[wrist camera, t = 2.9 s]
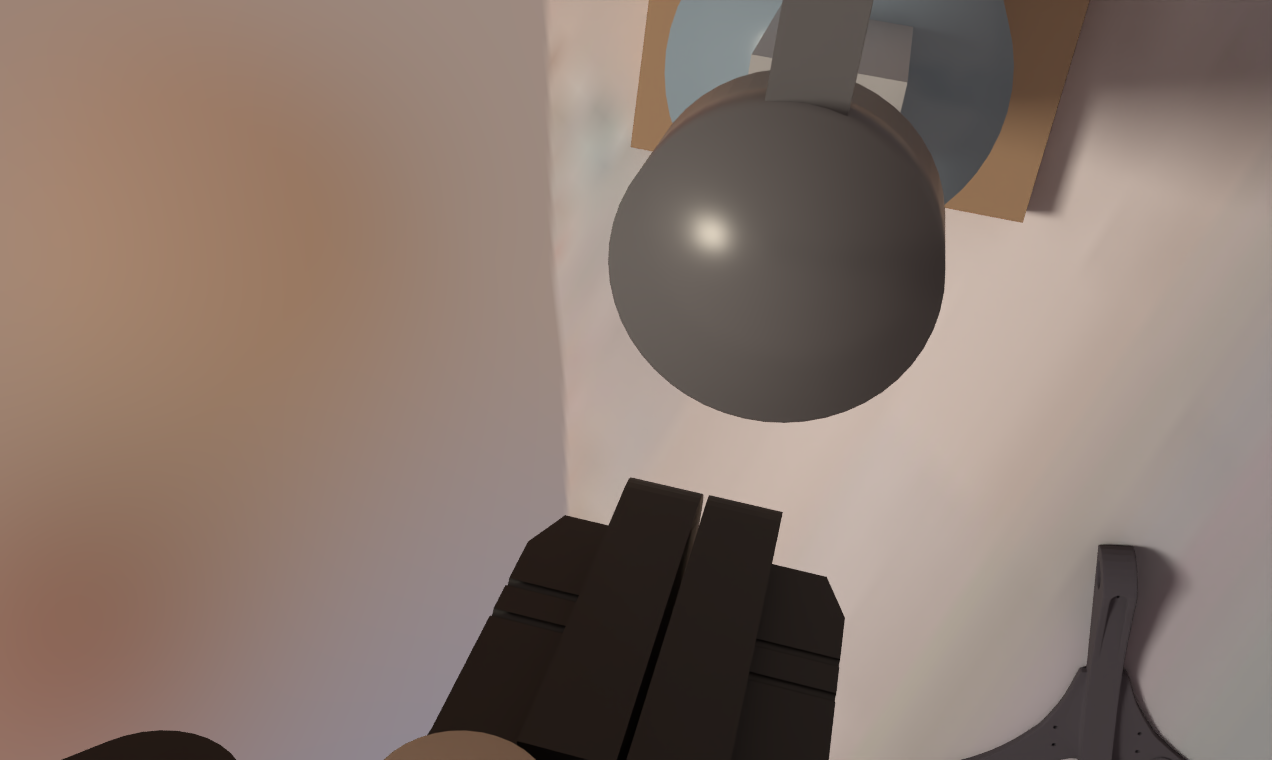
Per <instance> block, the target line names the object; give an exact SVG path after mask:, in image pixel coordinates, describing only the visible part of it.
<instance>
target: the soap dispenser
mask: <svg viewBox="0 0 1272 760" xmlns="http://www.w3.org/2000/svg"><path fill="white" fill-rule="evenodd" d="M782 1H783V0H649V4H648V12H647V20H646V28H645V36H644V45H643V53H642V61H641V69H640V77H639V85H638V93H637V101H636V109H635V117H634V125H633V133H632V141H631V147H633V148H639V149H644V150H649V151H654V149H655V148H656V146H657V145H658V143H659V142H660V140H661V139H662V138H663V136H664V135H665V133H666V132H667V130H668V129H669V128H670V126H671V125H672V123H673V122H674V121H675V120H676V119H677V118H678V117H679V116H680V115H681V114H682V113H683V111H684V110H685V109H686V108H688V107H689V106H690V105H691V104H693V103H694V102H695V101H696V100H697V99H699V98H700V97H701V96H703V95H704V94H706V93H708V92H709V91H711V90H713V89H714V88H716V87H717V86H719V85H722V84H724V83H726V82H728V81H731V80H733V79H735V78H738V77H741V76H745V75H748V74H752V73H755V72H761V71H767V70H770V68H771V63H772V57H773V51H774V46H775V40H776V35H777V29H778V23H779V18H780V12H781V7H782ZM1089 1H1090V0H873V5H872V10H871V14H870V19H869V24H868V28H867V33H866V37H865V42H864V47H863V51H862V56H861V61H860V65H859V70H858V75H857V79H856V83H858V84H860V85H862V86H864V87H866V88H867V89H869V90H871V91H873V92H875V93H876V94H878V95H879V96H881V97H882V98H883V99H885V100H886V101H887V102H889V103H890V104H891V105H893V106H894V107H895V108H896V109H897V110H898V111H899V112H900V113H901V114H902V115H903V116H904V117H905V118H906V119H907V120H908V121H909V122H910V123H911V124H912V126H913V127H914V128H915V130H916V131H917V132H918V134H919V135H920V136H921V138H922V139H923V141H924V143H925V145H926V146H927V148H928V150H929V152H930V153H931V155H932V158H933V160H934V163H935V165H936V168H937V170H938V173H939V177H940V181H941V185H942V189H943V195H944V206H945V208H949V209H954V210H959V211H965V212H970V213H975V214H980V215H985V216H990V217H996V218H1001V219H1006V220H1011V221H1016V222H1022V223H1023V220H1024V216H1025V213H1026V210H1027V206H1028V203H1029V200H1030V196H1031V193H1032V190H1033V187H1034V183H1035V180H1036V177H1037V173H1038V170H1039V167H1040V163H1041V160H1042V157H1043V153H1044V150H1045V147H1046V144H1047V140H1048V137H1049V134H1050V130H1051V127H1052V124H1053V120H1054V117H1055V114H1056V110H1057V107H1058V104H1059V100H1060V97H1061V94H1062V91H1063V87H1064V84H1065V81H1066V77H1067V74H1068V71H1069V67H1070V64H1071V61H1072V57H1073V54H1074V51H1075V48H1076V44H1077V41H1078V38H1079V34H1080V31H1081V28H1082V24H1083V21H1084V18H1085V14H1086V11H1087V8H1088V5H1089Z"/></svg>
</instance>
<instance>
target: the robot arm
mask: <svg viewBox="0 0 1272 760" xmlns="http://www.w3.org/2000/svg"><path fill="white" fill-rule="evenodd" d="M702 504H703V494H700V493H696V492H692V491H687V490H683V489H679V488H674V487H670V486H666V485H661V484H657V483H653V482H648V481H644V480H640V479H635V478H630V479H629V480H628V482H627V484H626V486H625V488H624V490H623V493H622V495H621V498H620V500H619V502H618V505H617V507H616V509H615V512H614V514H613V516H612V519H611V521H610V523H609V526H608V525H604V524H600V523H595V522H591V521H587V520H583V519H578V518H574V517H570V516H566V515H565V516H563V517H562V518H561V519H559V520H558V521H557V522H555V523H554V524H552V525H551V526H549V527H548V528H547V529H545V530H544V531H543V532H541V533H540V534H538V535H537V536H535V537H534V538H533V539H531V540H530V541H529V542H528V543H527V545H526V547H525V549H524V551H523V553H522V554H521V556H520V558H519V560H518V562H517V564H516V566H515V568H514V570H513V572H512V574H511V576H510V578H509V582H508V585H506V586H505V587H504V589H503V591H502V593H501V595H500V597H499V599H498V601H497V603H496V605H495V607H494V610H493V614H492V616H490V617H489V618H488V620H487V622H486V624H485V626H484V628H483V630H482V632H481V634H480V636H479V638H478V640H477V642H476V644H475V646H474V647H473V649H472V651H471V653H470V655H469V657H468V659H467V661H466V663H465V665H464V667H463V669H462V671H461V673H460V674H459V676H458V678H457V680H456V682H455V684H454V686H453V688H452V690H451V692H450V694H449V696H448V698H447V700H446V702H445V704H444V706H443V707H442V710H441V711H440V713H439V715H438V717H437V719H436V721H435V723H434V725H433V727H432V729H431V730H430V732H429V733H428V735H427V736H423V737H420V738H417V739H415V740H413V741H411V742H408V743H406V744H404V745H403V746H401V747H400V748H398V749H397V750H395V751H393V752H392V753H391V754H390V755H389V756H388V757H386V758H385V759H384V760H829V752H830V743H831V735H832V726H833V717H834V708H835V696H836V691H837V682H838V673H839V661H840V655H841V647H842V638H843V629H844V620H845V617H844V615H843V613H842V610H841V608H840V606H839V604H838V601H837V599H836V597H835V595H834V593H833V590H832V588H831V586H830V584H829V581H828V579H827V577H824V576H820V575H816V574H812V573H808V572H803V571H799V570H795V569H791V568H787V567H782V566H778V565H774V564H772V561H773V556H774V551H775V547H776V542H777V537H778V532H779V527H780V523H781V518H782V513H783V512H780V511H775V510H771V509H767V508H762V507H758V506H754V505H749V504H745V503H741V502H736V501H732V500H728V499H723V498H719V497H715V496H710V495H709V497H708V499H707V502H706V506H705V509H704V512H703V515H702V518H701V522H700V516H701V511H702ZM699 522H700V525H699ZM698 527H699V528H698ZM63 760H236V759H235V758H234V757H233V755H232V754H231V753H230V752H228V751H227V750H226V749H225V748H223V747H222V746H221V745H219V744H217V743H215V742H214V741H212V740H210V739H208V738H205V737H202V736H199V735H196V734H192V733H186V732H180V731H163V730H159V731H149V732H140V733H136V734H131V735H126V736H123V737H120V738H117V739H114V740H111V741H108V742H105V743H103V744H100V745H98V746H95V747H93V748H90V749H88V750H85V751H83V752H80V753H78V754H75V755H73V756H70V757H68V758H65V759H63Z"/></svg>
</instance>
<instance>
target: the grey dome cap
mask: <svg viewBox="0 0 1272 760" xmlns="http://www.w3.org/2000/svg"><path fill="white" fill-rule="evenodd" d="M872 5H873V0H783V1H782V7H781V12H780V18H779V23H778V29H777V35H776V40H775V46H774V51H773V57H772V63H771V68H770V70H767V71H761V72H755V73H752V74H748V75H745V76H741V77H738V78H735V79H733V80H731V81H728V82H726V83H724V84H722V85H719V86H717V87H716V88H714V89H713V90H711V91H709V92H708V93H706V94H704V95H703V96H701V97H700V98H699V99H697V100H696V101H695V102H694V103H693V104H691V105H690V106H689V107H688V108H686V109H685V110H684V111H683V113H682V114H681V115H680V116H679V117H678V118H677V119H676V120H675V121H674V122H673V123H672V125H671V126H670V128H669V129H668V130H667V132H666V133H665V135H664V136H663V138H662V139H661V140H660V142H659V143H658V145H657V146H656V148H655V149H654V151H653V152H652V153H651V155H650V156H649V158H648V159H647V161H646V162H645V164H644V165H643V166H642V168H641V169H640V171H639V172H638V174H637V175H636V176H635V178H634V179H633V181H632V182H631V184H630V185H629V187H628V189H627V191H626V193H625V195H624V197H623V199H622V201H621V202H620V205H619V208H618V210H617V213H616V216H615V219H614V222H613V226H612V232H611V237H610V242H609V259H608V265H609V277H610V285H611V289H612V294H613V298H614V302H615V305H616V308H617V311H618V313H619V316H620V319H621V321H622V323H623V325H624V327H625V329H626V331H627V333H628V335H629V337H630V339H631V340H632V341H633V343H634V344H635V346H636V347H637V349H638V350H639V352H640V353H641V354H642V356H643V357H644V358H645V359H646V360H647V361H648V362H649V364H650V365H651V366H652V367H653V368H654V369H655V370H656V371H657V372H658V373H659V374H660V375H661V376H662V377H664V378H665V379H666V380H667V381H668V382H669V383H670V384H672V385H673V386H675V387H676V388H677V389H679V390H680V391H682V392H683V393H684V394H686V395H687V396H689V397H691V398H693V399H695V400H697V401H698V402H700V403H702V404H704V405H706V406H709V407H711V408H713V409H716V410H718V411H721V412H723V413H727V414H730V415H734V416H737V417H741V418H745V419H751V420H757V421H763V422H781V423H787V422H803V421H810V420H815V419H821V418H826V417H829V416H832V415H836V414H839V413H842V412H845V411H848V410H850V409H852V408H854V407H857V406H859V405H861V404H863V403H865V402H867V401H868V400H870V399H872V398H873V397H875V396H877V395H878V394H880V393H881V392H883V391H884V390H885V389H887V388H888V387H889V386H890V385H891V384H893V383H894V382H895V381H896V380H898V379H899V378H900V377H901V375H902V374H903V373H904V372H905V371H906V370H907V369H908V368H909V367H910V366H911V365H912V364H913V362H914V361H915V360H916V358H917V357H918V355H919V354H920V353H921V351H922V350H923V348H924V347H925V345H926V343H927V341H928V339H929V337H930V335H931V333H932V331H933V329H934V326H935V324H936V321H937V318H938V315H939V312H940V309H941V304H942V299H943V294H944V284H945V206H944V195H943V189H942V185H941V181H940V177H939V173H938V170H937V168H936V165H935V163H934V160H933V158H932V155H931V153H930V152H929V150H928V148H927V146H926V145H925V143H924V141H923V139H922V138H921V136H920V135H919V134H918V132H917V131H916V130H915V128H914V127H913V126H912V124H911V123H910V122H909V121H908V120H907V119H906V118H905V117H904V116H903V115H902V114H901V113H900V112H899V111H898V110H897V109H896V108H895V107H894V106H893V105H891V104H890V103H889V102H887V101H886V100H885V99H883V98H882V97H881V96H879V95H878V94H876V93H875V92H873V91H871V90H869V89H867V88H866V87H864V86H862V85H860V84H858V83H856V79H857V75H858V70H859V65H860V61H861V56H862V51H863V47H864V42H865V37H866V33H867V28H868V24H869V19H870V14H871V10H872Z"/></svg>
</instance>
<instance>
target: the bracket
mask: <svg viewBox="0 0 1272 760" xmlns="http://www.w3.org/2000/svg"><path fill="white" fill-rule="evenodd" d="M1136 602H1137V565H1136V557H1135V552H1134V549H1133V547H1132V546H1115V545H1099V546H1098V555H1097V566H1096V576H1095V586H1094V597H1093V607H1092V617H1091V628H1090V638H1089V648H1088V659H1087V666H1086V668H1084V667H1081V668H1079V670H1078V672H1077V673H1076V675H1075V677H1074V679H1073V681H1072V683H1071V685H1070V686H1069V688H1068V690H1067V691H1066V693H1065V695H1064V696H1063V697H1062V699H1061V700H1060V701H1059V703H1058V704H1057V705H1056V706H1055V707H1054V709H1053V710H1052V711H1051V712H1050V713H1049V714H1048V715H1047V716H1046V717H1045V718H1044V719H1043V720H1042V721H1041V722H1040V723H1039V724H1038V725H1036V726H1035V727H1033V728H1031V729H1030V730H1028V731H1027V732H1025V733H1024V734H1022V735H1021V736H1019V737H1017V738H1015V739H1014V740H1012V741H1010V742H1008V743H1006V744H1004V745H1002V746H1000V747H997V748H995V749H993V750H990V751H988V752H985V753H982V754H979V755H976V756H973V757H970V758H966V759H963V760H1061V759H1067V758H1077V759H1078V760H1186V759H1184V758H1183V757H1182V756H1181V755H1179V754H1178V753H1177V752H1176V751H1174V750H1173V749H1172V748H1171V747H1170V746H1169V745H1168V744H1167V743H1166V742H1165V741H1164V740H1162V739H1161V738H1160V737H1159V736H1158V735H1157V734H1156V733H1155V732H1154V731H1153V729H1152V728H1151V726H1150V724H1149V723H1148V721H1147V720H1146V718H1145V716H1144V715H1143V713H1142V712H1141V710H1140V708H1139V706H1138V704H1137V702H1136V699H1135V696H1134V693H1133V690H1132V687H1131V684H1130V680H1129V677H1128V674H1127V671H1125V670H1123V665H1124V659H1125V654H1126V649H1127V644H1128V639H1129V634H1130V629H1131V624H1132V619H1133V615H1134V611H1135V608H1136Z"/></svg>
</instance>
